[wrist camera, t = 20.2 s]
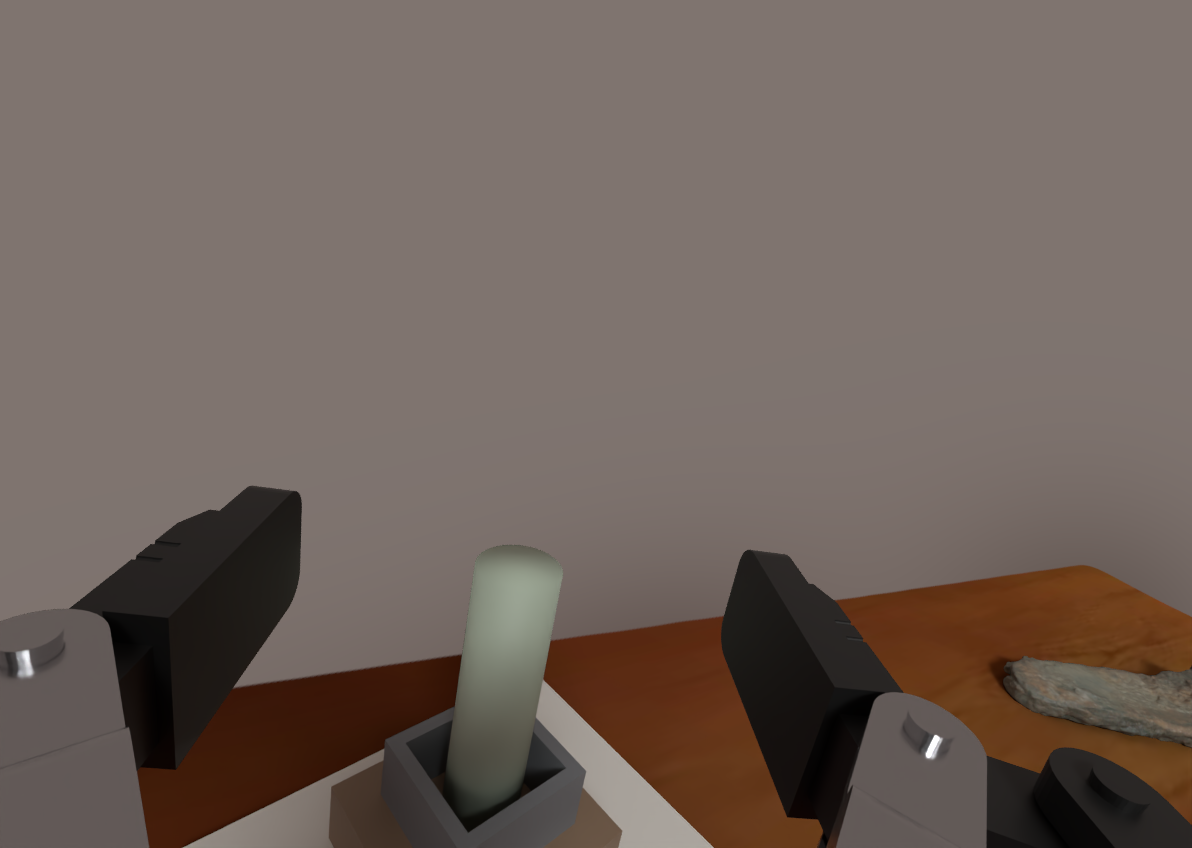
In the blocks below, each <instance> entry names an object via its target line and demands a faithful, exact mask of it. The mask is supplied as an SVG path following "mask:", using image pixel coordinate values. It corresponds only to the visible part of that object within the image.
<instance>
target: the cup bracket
mask: <svg viewBox="0 0 1192 848" xmlns="http://www.w3.org/2000/svg"><path fill="white" fill-rule="evenodd" d="M454 708H455V707H452V708H450V709H448V710H446V711H444V712H442V713H440V714H438V715H436V716H434V717H432V718H430V719H427V720H425V721H423V722H421V723H419V724H417V725H415V726H413V727H411V728H409V729H407V730H405V731H402V732H400V733H398V734H396V735H394V736H392V737H390V738H388V739H386V740H385V748H384V749H383V750H381V751H379V752H377V753H375V754H373V755H370V756H368V757H366V758H364V759H362V760H360V761H358V762H356V763H354V764H352V765H350V766H348V767H346V768H344V769H342V770H340V771H338V772H336V773H334V774H332V775H330V776H328V777H326V778H324V779H322V780H320V781H318V782H315V783H313V784H311V785H309V786H307V787H305V788H303V789H301V790H299V791H297V792H295V793H293V794H291V795H289V796H287V797H285V798H283V799H281V800H279V801H277V802H275V803H273V804H271V805H269V806H267V807H265V808H262V809H260V810H258V811H256V812H254V813H252V814H250V815H248V816H246V817H244V818H242V819H240V820H238V821H236V822H234V823H232V824H230V825H228V826H226V827H224V828H222V829H220V830H218V831H216V832H214V833H212V834H210V835H207V836H205V837H203V838H201V839H199V840H197V841H195V842H193V843H191V844H189V845H187V846H185V847H183V848H713V847H712V846H711V845H710V844H709V843H708V842H707V841H706V840H705V839H704V838H703V837H702V836H701V835H700V834H699V833H698V832H697V831H696V830H695V829H694V828H693V827H692V826H691V825H690V824H689V823H688V822H687V821H686V820H685V819H684V818H683V817H682V816H681V815H680V814H679V813H678V812H677V811H676V810H675V809H674V808H673V807H672V806H671V805H670V804H669V803H668V802H667V801H666V800H665V799H664V798H663V797H662V796H661V795H660V794H658V793H657V792H656V791H655V790H654V789H653V788H652V787H651V786H650V785H649V784H648V783H647V782H646V781H645V780H644V779H643V778H642V777H641V776H640V775H639V774H638V773H637V772H636V771H635V770H634V769H633V768H632V767H631V766H630V765H629V764H628V763H627V762H626V761H625V760H624V759H623V758H622V757H621V756H620V755H619V754H618V753H617V752H616V751H615V750H614V749H613V748H612V747H611V746H610V745H609V744H608V743H607V742H606V741H605V740H604V739H603V738H602V737H601V736H600V735H599V734H598V733H597V732H596V731H595V730H593V729H592V728H591V727H590V726H589V725H588V724H587V723H586V722H585V721H584V720H583V719H582V718H581V717H580V716H579V715H578V714H577V713H576V712H575V711H574V710H573V709H572V708H571V707H570V706H569V705H568V704H567V703H566V702H565V701H564V700H563V699H562V698H561V697H560V696H559V695H558V694H557V693H556V692H555V691H554V690H553V689H552V688H551V687H550V686H549V685H548V684H547V683H546V682H545V681H544V680H543V682H542V687H541V692H540V697H539V703H538V708H537V713H536V718H535V724H534V729H533V734H532V739H531V744H530V750H529V755H528V760H527V765H526V771H525V776H524V781H523V786H522V792H521V797H520V799H519V800H517V801H516V802H514V803H513V804H511V805H510V806H508V807H507V808H505V809H504V810H502V811H501V812H499V813H498V814H496V815H494V816H493V817H491V818H490V819H488V820H487V821H485V822H484V823H482V824H481V825H479V826H478V827H476V828H475V829H473V830H472V831H470V832H469V833H468V832H467V831H466V829H465V828H464V826H463V825H462V824H461V822H460V821H459V819H458V818H457V816H456V815H455V813H454V812H453V811H452V809H451V808H450V806H449V805H448V803H447V802H446V801H445V799H444V798H443V796H442V793H443V786H444V779H445V772H446V765H447V758H448V751H449V744H450V737H451V730H452V723H453V716H454Z"/></svg>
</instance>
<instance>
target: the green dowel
mask: <svg viewBox="0 0 1192 848" xmlns="http://www.w3.org/2000/svg"><path fill="white" fill-rule="evenodd" d="M562 577H563V570H562V567H561V565H560V564H559V562H558V561H557V560H556V559H555V558H553V557H552V556H550V555H549V554H547V553H545V552H543V551H541V550H538V549H535V548H532V547H527V546H521V545H502V546H496V547H493V548H490V549H487V550H485V551H484V552H482V553H481V554H480V555H479V556H478V557H477V559H476V561H475V568H474V575H473V582H472V588H471V596H470V603H469V610H468V617H467V624H466V631H465V638H464V645H463V652H462V659H461V666H460V673H459V680H458V687H457V694H456V701H455V708H454V716H453V723H452V730H451V737H450V744H449V751H448V758H447V765H446V772H445V779H444V786H443V793H442V796H443V798H444V799H445V801H446V802H447V803H448V805H449V806H450V808H451V809H452V811H453V812H454V813H455V815H456V816H457V818H458V819H459V821H460V822H461V824H462V825H463V826H464V828H465V829H466V831H467V832H468V833H469V832H470V831H472V830H473V829H475V828H476V827H478V826H479V825H481V824H482V823H484V822H485V821H487V820H488V819H490V818H491V817H493V816H494V815H496V814H498V813H499V812H501V811H502V810H504V809H505V808H507V807H508V806H510V805H511V804H513V803H514V802H516V801H517V800H519V799H520V797H521V792H522V786H523V781H524V776H525V771H526V765H527V760H528V755H529V750H530V744H531V739H532V734H533V729H534V724H535V718H536V713H537V708H538V703H539V697H540V692H541V687H542V682H543V676H544V671H545V666H546V661H547V655H548V650H549V645H550V640H551V634H552V629H553V624H554V619H555V613H556V608H557V603H558V597H559V593H560V587H561V582H562Z"/></svg>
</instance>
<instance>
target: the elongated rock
mask: <svg viewBox="0 0 1192 848" xmlns="http://www.w3.org/2000/svg"><path fill="white" fill-rule="evenodd" d="M1004 671H1005V672H1006V673H1008V674H1010V676H1007V677H1005V678H1004V680H1003V682H1004V683H1003V684H1004V686H1005V688H1006V691H1007V692H1008V693H1009V694H1010V695H1011V696H1012V698H1014V699H1015V700H1016V701H1017V702H1018V703H1020V704H1022V705H1023V706H1024V707H1026V708H1028V709H1029V710H1031V711H1033V712H1035V713H1041V714H1042V715H1044V716H1054V717H1058V718H1063V719H1069V720H1071V721H1074V722H1077V723H1081V724H1085V725H1094V726H1098V727H1101V728H1106V729H1110V730H1115V731H1117V732H1121V733H1123V734H1127V735H1130V736H1134V735H1141V736H1146V737H1150V738H1156V739H1158V740H1160V741H1172V742H1175V743H1179V744H1184V745H1185V746H1189V747H1192V666H1191V668H1190V670H1185V671H1183V672H1173V671H1162V672H1160V673H1159V674H1157V675H1155V676H1154V675H1151V676H1147V675H1145V674H1142V673H1141V674H1135V673H1131V672H1127V671H1125V670H1116V669H1111V668H1105V667H1089V666H1085V665H1082V664H1073V663H1062V662H1058V661H1048V660H1045V661H1041V660H1036V659H1034V658H1028V657H1027V656H1023V657H1022V659H1021V660H1019V661H1017V662H1007V664H1006V665H1005V666H1004Z"/></svg>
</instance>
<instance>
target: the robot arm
mask: <svg viewBox="0 0 1192 848" xmlns="http://www.w3.org/2000/svg"><path fill="white" fill-rule="evenodd" d="M301 513H302V503H301V497H300V495H299V493H298V492H297V491H289V490H282V489H274V488H266V487H257V486H249V487H247V488H246V489H245V490H243V491H242V492H241V493H240V494H239V495H238V496H236V497H235V498H234V499H233V500H232V501H231V502H229V503H228V504H227V505H226V506H225V507H224V508H222V509H221V510H220V511H216V510H208V511H206V512H203V513H201V514H198V515H196V516H193V517H191V518H188V519H186V520H184V521H181V522H179V523H177V524H176V525H175V526H173V527H172V528H171V529H169V530H168V531H167V532H166V533H165V534H163V535H162V536H161V537H160V538H158V539H157V540H156V541H155V544H150V545H149V546H148V547H147V548H145V549H144V550H143V551H142V552H140V553H139V554H138V555H137V556H136V559H135V560H130V561H129V562H128V563H127V564H125V565H124V566H123V567H121V568H120V569H119V570H118V571H116V572H115V573H114V574H112V575H111V576H110V577H109V578H108V579H106V580H105V581H104V582H102V583H101V584H100V585H99V586H97V587H96V588H95V589H93V590H92V591H91V592H90V593H88V594H87V595H86V596H85V597H83V598H82V599H81V600H80V601H78V602H77V603H76V604H74V605H73V606H72V607H71V608H69V609H53V610H44V611H38V612H32V613H27V614H23V615H19V616H15V617H12V618H9V619H6V620H3V621H0V848H149V844H148V838H147V831H146V825H145V819H144V813H143V807H142V801H141V795H140V789H139V783H138V777H137V770H138V769H139V768H140V767H146V768H160V769H173V770H176V769H177V767H178V766H179V765H180V763H181V762H182V760H183V759H184V757H185V756H186V754H187V753H188V752H189V750H190V749H191V747H192V746H193V744H194V743H195V742H196V740H197V739H198V737H199V736H200V734H201V733H202V731H203V730H204V729H205V727H206V726H207V724H208V723H209V721H210V720H211V719H212V717H213V716H214V714H215V713H216V711H217V710H218V708H219V707H220V706H221V704H222V703H223V701H224V700H225V698H226V697H227V696H228V694H229V693H230V691H231V690H232V688H233V687H234V685H235V684H236V683H237V681H238V680H239V678H240V677H241V675H242V674H243V672H244V671H245V670H246V668H247V666H248V665H249V664H250V662H251V661H252V660H253V658H254V657H255V655H256V654H257V652H258V651H259V649H260V648H261V647H262V645H263V644H264V642H265V641H266V640H267V638H268V637H269V635H270V634H271V632H272V631H273V629H274V628H275V627H276V625H277V624H278V622H279V621H280V619H281V618H282V617H283V615H284V614H285V612H286V611H287V609H288V608H289V606H290V604H291V602H292V600H293V597H294V595H295V592H296V589H297V585H298V580H299V574H300V548H301ZM721 642H722V650H723V654H724V657H725V659H726V662H727V664H728V667H729V670H730V672H731V675H732V677H733V680H734V682H735V685H736V687H737V690H738V693H739V695H740V698H741V700H742V703H743V705H744V708H745V710H746V713H747V716H748V718H749V721H750V723H751V726H752V728H753V731H754V733H755V736H756V739H757V741H758V744H759V746H760V749H761V751H762V754H763V756H764V759H765V762H766V764H767V767H768V769H769V772H770V774H771V777H772V779H773V782H774V785H775V787H776V790H777V792H778V795H779V797H780V800H781V802H782V805H783V807H784V810H785V813H786V815H787V817H791V818H805V819H818V820H819V822H820V824H821V827H822V829H823V833H822V835H821V838H820V840H819V843H818V845H817V848H1192V825H1191V824H1190V823H1189V822H1188V821H1187V820H1186V819H1185V818H1184V817H1183V816H1182V815H1181V814H1180V813H1179V812H1178V811H1177V810H1176V809H1175V808H1174V807H1173V806H1172V805H1171V804H1170V803H1169V802H1168V801H1167V800H1165V799H1164V798H1163V797H1162V796H1161V795H1160V794H1159V793H1158V792H1157V791H1155V790H1154V789H1153V788H1152V787H1151V786H1149V785H1148V784H1147V783H1145V782H1144V781H1143V780H1141V779H1140V778H1138V777H1137V776H1136V775H1134V774H1132V773H1131V772H1129V771H1128V770H1126V769H1124V768H1123V767H1121V766H1119V765H1117V764H1115V763H1114V762H1111V761H1109V760H1107V759H1105V758H1103V757H1101V756H1098V755H1096V754H1093V753H1090V752H1087V751H1084V750H1080V749H1075V748H1058V749H1056V750H1054V751H1053V752H1052V753H1051V754H1050V756H1049V758H1048V760H1047V762H1046V764H1045V766H1044V768H1043V770H1042V771H1041V773H1037V772H1034V771H1031V770H1028V769H1025V768H1022V767H1019V766H1016V765H1013V764H1010V763H1007V762H1004V761H1001V760H998V759H995V758H992V757H989V756H986V753H985V751H984V748H983V746H982V745H981V743H980V741H979V740H978V739H977V737H976V736H975V735H974V734H973V733H972V731H971V730H970V729H969V728H968V727H967V726H966V725H964V724H963V723H962V722H961V721H960V720H959V719H957V718H956V717H955V716H953V715H952V714H951V713H949V712H948V711H946V710H944V709H943V708H941V707H939V706H937V705H936V704H934V703H932V702H929V701H927V700H925V699H923V698H920V697H917V696H914V695H910V694H906V693H903V691H902V690H901V689H900V687H899V686H898V685H897V683H896V682H895V681H894V679H893V678H892V677H891V675H890V674H889V673H888V671H887V670H886V668H885V667H884V666H883V664H882V663H881V662H880V660H879V659H878V658H877V656H876V655H875V654H874V652H873V651H872V650H871V648H870V647H869V646H868V644H867V643H866V642H863V638H862V636H861V635H860V634H859V632H858V631H857V630H856V628H855V627H854V626H852V625H851V621H850V620H849V619H848V617H847V616H846V615H845V613H844V612H843V611H842V609H841V608H840V607H839V605H838V604H837V603H836V602H835V601H834V600H833V599H831V598H830V597H829V596H828V595H826V594H825V593H824V592H822V591H821V590H820V589H819V588H817V587H816V586H815V585H814V584H808V582H807V581H806V579H805V578H804V577H803V575H802V574H801V572H800V571H799V569H798V568H797V567H796V565H795V564H794V562H793V561H792V559H791V558H790V557H789V556H788V555H785V554H778V553H770V552H762V551H753V550H747V551H745V552H744V553H743V555H742V557H741V559H740V562H739V565H738V569H737V572H736V576H735V579H734V583H733V586H732V590H731V593H730V597H729V600H728V604H727V607H726V611H725V614H724V618H723V622H722V630H721Z"/></svg>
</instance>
